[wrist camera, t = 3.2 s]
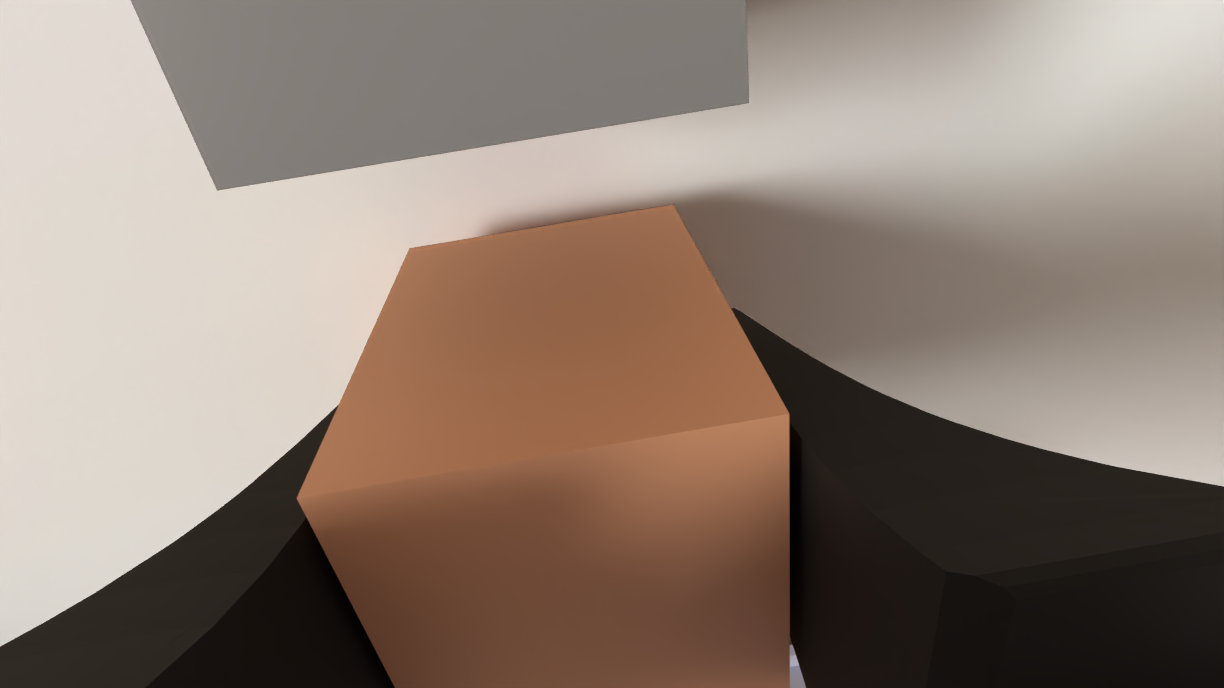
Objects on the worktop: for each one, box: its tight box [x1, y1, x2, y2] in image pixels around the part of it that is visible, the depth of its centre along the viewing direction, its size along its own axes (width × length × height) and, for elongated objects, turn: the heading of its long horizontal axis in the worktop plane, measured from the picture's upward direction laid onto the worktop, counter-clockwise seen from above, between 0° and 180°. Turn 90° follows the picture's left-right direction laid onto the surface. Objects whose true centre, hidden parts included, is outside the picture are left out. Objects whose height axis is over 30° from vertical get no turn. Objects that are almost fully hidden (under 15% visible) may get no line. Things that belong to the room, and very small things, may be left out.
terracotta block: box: [297, 205, 790, 688], centre depth 10 cm, size 4×4×6 cm
